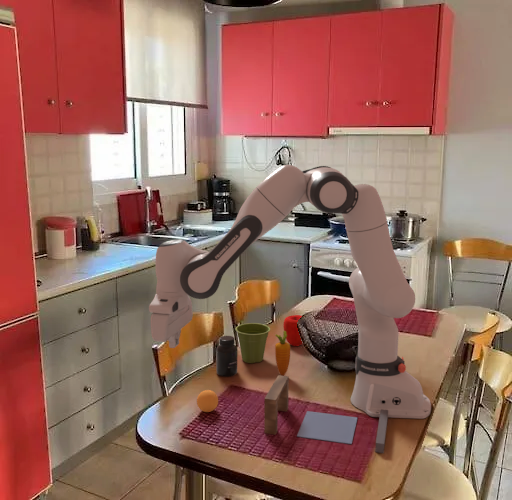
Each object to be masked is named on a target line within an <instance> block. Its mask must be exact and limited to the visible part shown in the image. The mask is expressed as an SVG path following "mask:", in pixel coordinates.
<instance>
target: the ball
mask: <svg viewBox="0 0 512 500" xmlns="http://www.w3.org/2000/svg"><path fill="white" fill-rule="evenodd" d="M196 404H197V407H198V409H199V410H200V411H201V412H204V413H209V412H213V411H214V410H216V408H217V407H218V405H219V397H218V395H217V393H216V392H215V391H214V390H212V389H211V390H210V389H206V390H202V391H201V392H200V393H199V394H198V395H197V398H196Z"/></svg>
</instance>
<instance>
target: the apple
mask: <svg viewBox="0 0 512 500" xmlns="http://www.w3.org/2000/svg"><path fill="white" fill-rule="evenodd" d="M302 316H303V315H300V314H296V315H295V314H294V315H288V316H286V317H285V318H284V320H283V325H282V326H283V332H284V331H286V335H287V337H286V340H285V341H286V342H287V343H289V345H290V346H292V347H299V346H301V345H303V343H302V341H301V338H300V335H299V332H298V328H297V322H298V320H299V319H300V318H301V317H302Z"/></svg>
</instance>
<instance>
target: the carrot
mask: <svg viewBox="0 0 512 500" xmlns="http://www.w3.org/2000/svg"><path fill="white" fill-rule="evenodd" d="M275 337H276V338H277V339H278V341H279V342H276V343H275V345H274V351H275V352H274V353H275V363H276V367H277V370H278V373H279V374H280V375H281V376H286V374H287V371H288V368H289V365H290V360H291V345H290V344H289V343H288V342H287V340H286V337H287V335H286V331H284V330H283V335H282V336H281V335H280V334H275Z"/></svg>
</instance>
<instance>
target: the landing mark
mask: <svg viewBox="0 0 512 500" xmlns="http://www.w3.org/2000/svg"><path fill="white" fill-rule="evenodd" d="M357 422H358V417H356V416H348V415H341V414H334V413H325V412H318V411H317V412H316V411H312V410H311V411H309V410H307V411H306V412H305V415H304V418H303V420H302V422H301V425H300V427H299V430H298V432H297V434H296V437H297V438H304V439H311V440H318V441H326V442H333V443H339V444H346V445H352V443H353V440H354V435H355V431H356V426H357Z"/></svg>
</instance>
